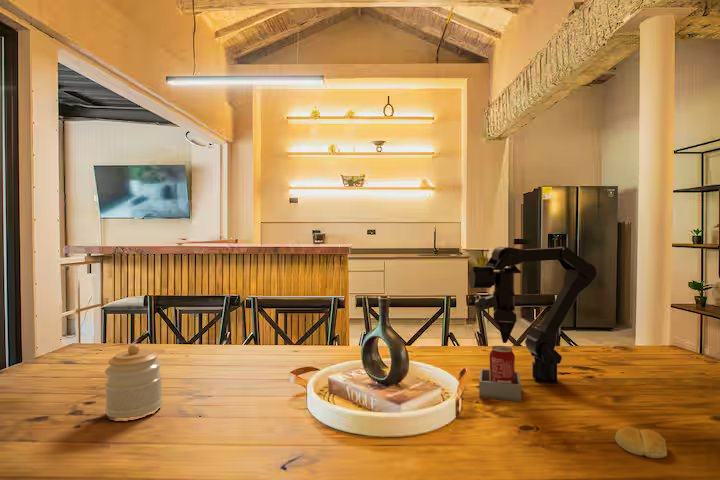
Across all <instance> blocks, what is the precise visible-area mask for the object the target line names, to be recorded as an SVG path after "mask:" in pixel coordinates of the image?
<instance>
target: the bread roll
mask: <svg viewBox="0 0 720 480" xmlns="http://www.w3.org/2000/svg"><path fill="white" fill-rule="evenodd" d="M615 441H616V444H617V445H618V446H619V447H621V448H622V449H623V450H625V451H626V452H629V453H631V454H633V455H637V456H641V457H642V456H646V457H647V458H651V459H662V458H666V457H667V456H668V450H667V444H666V440H665V438H664V437H663V436H662V435H661V434H660V433H658V432H656V431H654V430H652V429H648V428H647V429H646V428H645V429H640V430H639V429H637V428H636V427H634V426H629V425H627V426H623V427H621V428H619V429H618V430H617V431H616V433H615Z"/></svg>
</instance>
